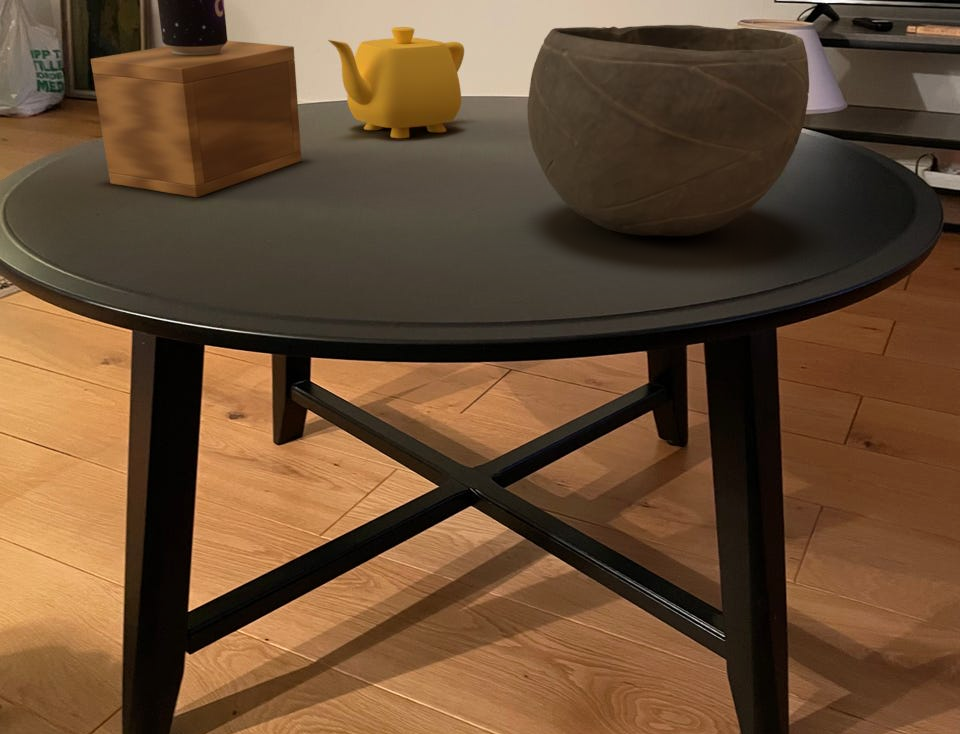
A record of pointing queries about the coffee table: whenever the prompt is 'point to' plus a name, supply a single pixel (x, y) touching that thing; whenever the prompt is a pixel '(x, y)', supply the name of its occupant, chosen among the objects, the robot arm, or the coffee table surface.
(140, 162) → the small wooden crate
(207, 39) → the beverage can
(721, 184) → the bowl
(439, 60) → the teapot
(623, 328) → the coffee table surface
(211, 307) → the coffee table surface
